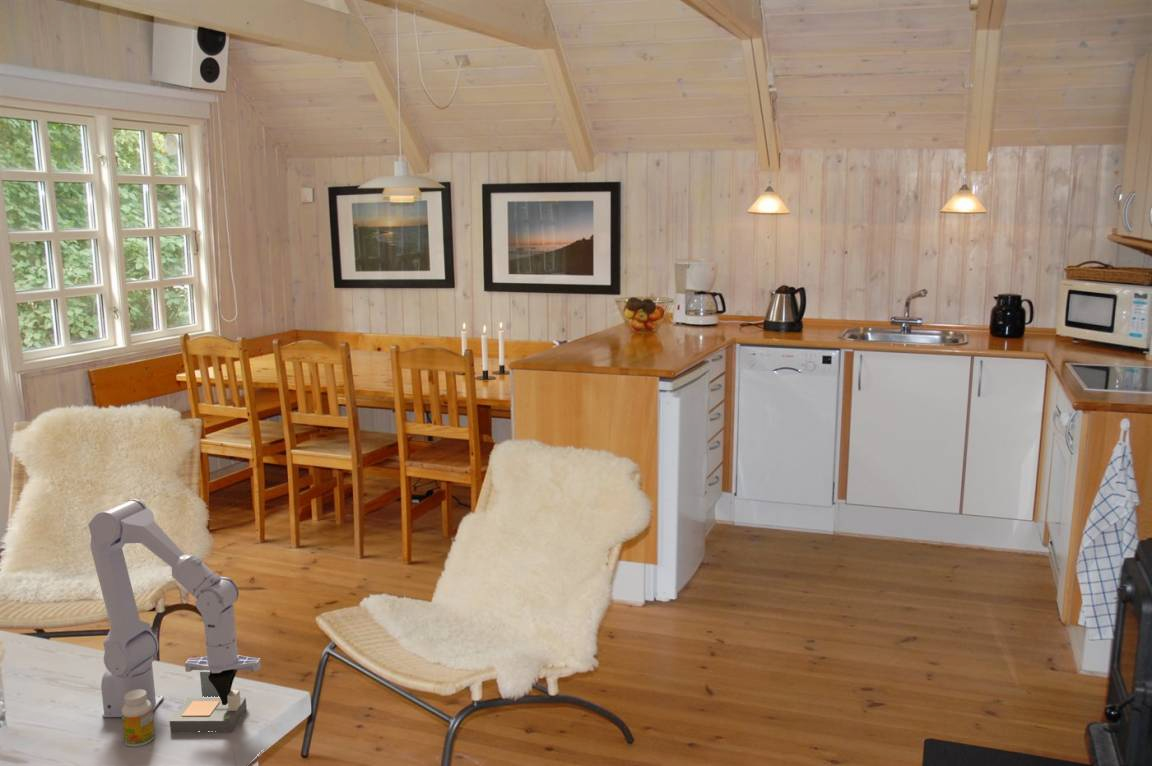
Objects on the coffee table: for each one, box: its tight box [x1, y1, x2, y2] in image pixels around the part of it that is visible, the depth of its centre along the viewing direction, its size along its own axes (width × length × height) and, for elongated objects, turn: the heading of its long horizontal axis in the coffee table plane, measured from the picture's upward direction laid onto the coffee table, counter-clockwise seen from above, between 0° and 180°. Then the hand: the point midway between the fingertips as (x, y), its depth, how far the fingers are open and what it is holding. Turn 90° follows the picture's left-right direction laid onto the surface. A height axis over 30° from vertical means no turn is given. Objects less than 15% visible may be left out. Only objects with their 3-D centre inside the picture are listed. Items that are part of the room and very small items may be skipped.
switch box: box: [169, 697, 247, 733], centre depth 194 cm, size 12×9×3 cm
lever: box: [227, 689, 241, 711], centre depth 193 cm, size 2×2×3 cm
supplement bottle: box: [121, 689, 156, 748], centre depth 186 cm, size 5×5×10 cm
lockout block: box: [199, 670, 220, 698], centre depth 204 cm, size 4×4×6 cm
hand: (226, 702), depth 193 cm, fingers closed
